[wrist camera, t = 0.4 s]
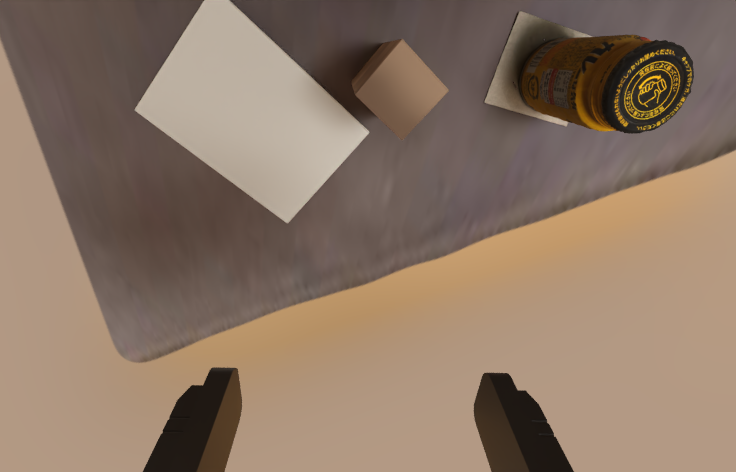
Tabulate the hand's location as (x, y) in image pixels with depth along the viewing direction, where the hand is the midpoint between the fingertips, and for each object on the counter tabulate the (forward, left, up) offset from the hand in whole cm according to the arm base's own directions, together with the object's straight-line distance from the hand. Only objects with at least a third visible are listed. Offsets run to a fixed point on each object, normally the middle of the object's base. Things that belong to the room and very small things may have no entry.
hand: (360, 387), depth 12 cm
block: (-8, -3, -26) cm, 27 cm away
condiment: (-18, +7, -26) cm, 32 cm away
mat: (+2, -9, -26) cm, 27 cm away
